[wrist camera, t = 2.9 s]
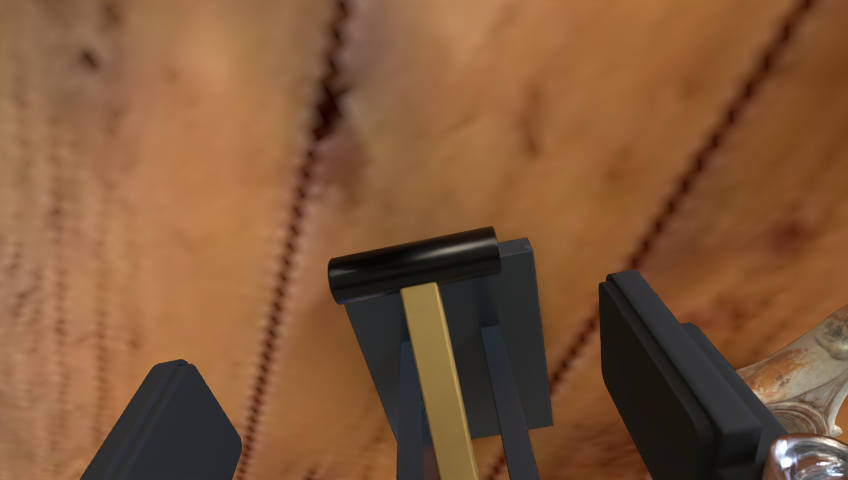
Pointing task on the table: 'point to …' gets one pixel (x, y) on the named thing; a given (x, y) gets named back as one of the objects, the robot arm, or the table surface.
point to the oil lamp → (805, 378)
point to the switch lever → (426, 322)
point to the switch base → (466, 364)
